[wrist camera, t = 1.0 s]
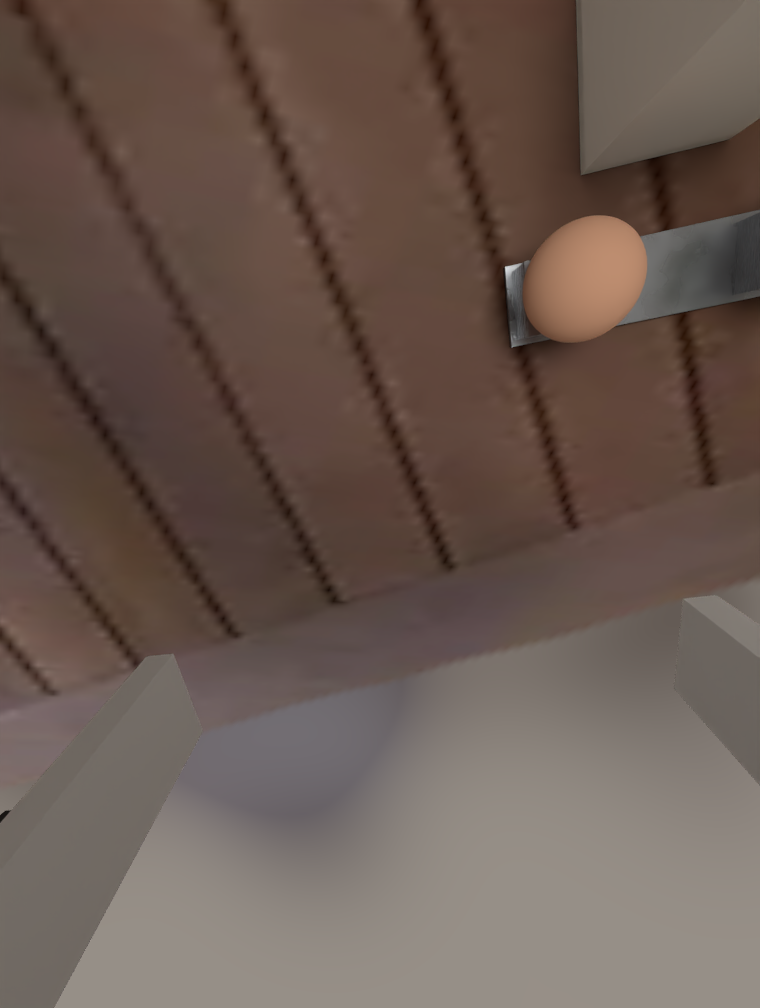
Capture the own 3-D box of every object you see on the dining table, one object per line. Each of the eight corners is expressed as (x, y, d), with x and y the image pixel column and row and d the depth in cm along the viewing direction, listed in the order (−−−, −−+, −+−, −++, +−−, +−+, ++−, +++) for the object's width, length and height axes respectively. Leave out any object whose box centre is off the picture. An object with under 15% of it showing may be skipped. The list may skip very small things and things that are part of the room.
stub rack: (503, 268, 26) (516, 255, 23) (811, 199, 24) (867, 176, 21) (510, 347, 28) (523, 344, 25) (800, 287, 26) (850, 277, 23)
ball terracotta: (505, 250, 23) (540, 211, 18) (608, 226, 23) (679, 178, 17) (514, 354, 25) (548, 349, 20) (609, 335, 25) (673, 324, 19)
